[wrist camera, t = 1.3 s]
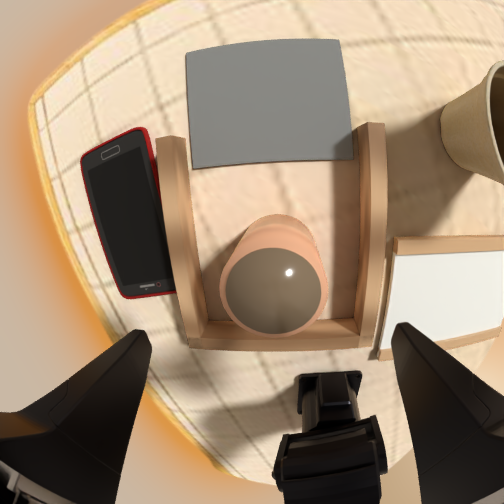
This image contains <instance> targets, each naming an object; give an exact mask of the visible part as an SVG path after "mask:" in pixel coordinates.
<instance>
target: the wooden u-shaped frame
mask: <svg viewBox="0 0 504 504" xmlns="http://www.w3.org/2000/svg"><path fill="white" fill-rule="evenodd" d="M357 132H358V146H359V165H360V245H359V264H358V278H357V290H356V300H355V310H354V318H345V319H326V320H316V321H315V322H314V323H313V324H312V325H310V326H309V327H308V328H306V329H305V330H303V331H301V332H299V333H296V334H294V335H290V336H286V337H277V338H274V337H264V336H259V335H256V334H253V333H251V332H249V331H247V330H245V329H243V328H242V327H240V326H239V325H238V324H236V323H235V322H234V321H215V320H209V319H208V313H207V307H206V301H205V295H204V289H203V283H202V277H201V270H200V263H199V257H198V249H197V242H196V235H195V227H194V219H193V211H192V202H191V193H190V184H189V174H188V163H187V152H186V139H185V138H181V137H176V136H166V137H161V138H156V152H157V163H158V173H159V182H160V191H161V199H162V207H163V214H164V222H165V228H166V235H167V241H168V247H169V253H170V259H171V265H172V270H173V275H174V281H175V286H176V291H177V296H178V300H179V305H180V310H181V314H182V319H183V323H184V327H185V331H186V336H187V340H188V344H189V348H195V349H209V350H228V351H316V350H335V349H349V348H361V347H372V343H373V337H374V332H375V327H376V321H377V315H378V309H379V302H380V295H381V287H382V279H383V269H384V259H385V246H386V230H387V153H386V137H385V125H384V123H372V122H367V123H365V124H363V125H361V126H359V127H357Z"/></svg>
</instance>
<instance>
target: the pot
mask: <svg viewBox="0 0 504 504" xmlns="http://www.w3.org/2000/svg"><path fill="white" fill-rule="evenodd" d="M219 292H220V298H221V302H222V304H223V307H224V309H225V311H226V312H227V314H228V315H229V316H230V318H231V319H232V320H233V321H234V322H235V323H236V324H238V325H239V326H240V327H242V328H243V329H245V330H247V331H249V332H251V333H253V334H256V335H259V336H264V337H274V338H277V337H286V336H290V335H294V334H296V333H299V332H301V331H303V330H305V329H306V328H308V327H309V326H310V325H312V324H313V323H314V322H315V321H316V320H317V318H318V317H319V316H320V315H321V313H322V311H323V309H324V307H325V305H326V302H327V298H328V282H327V277H326V274H325V271H324V268H323V265H322V262H321V258H320V255H319V252H318V249H317V246H316V243H315V240H314V238H313V235H312V234H311V232H310V231H309V229H308V228H307V227H306V226H305V225H304V224H303V223H302V222H301V221H299V220H297V219H295V218H293V217H291V216H287V215H281V214H275V215H269V216H265V217H262V218H260V219H258V220H257V221H255V222H254V223H252V224H251V225H250V226H249V228H248V229H247V230H246V232H245V233H244V235H243V237H242V238H241V240H240V242H239V243H238V245H237V247H236V248H235V250H234V252H233V253H232V255H231V257H230V258H229V260H228V262H227V263H226V265H225V267H224V269H223V271H222V274H221V277H220V283H219Z"/></svg>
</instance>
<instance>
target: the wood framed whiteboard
mask: <svg viewBox="0 0 504 504" xmlns="http://www.w3.org/2000/svg"><path fill="white" fill-rule="evenodd" d="M503 317H504V235H465V236H404V237H394V244H393V256H392V266H391V275H390V283H389V290H388V297H387V303H386V310H385V315H384V321H383V326H382V331H381V336H380V341H379V346H378V350H377V358H378V361H386V360H393V353H392V348H391V338H392V335H393V332H394V329H395V326H396V324H397V323H401V322H408V323H410V324H411V325H412V326H414V327H415V328H416V329H418V330H419V331H420V332H422V333H423V334H424V335H426V336H427V337H428V338H430V339H431V340H432V341H433V342H435V343H436V344H437V345H439V346H440V347H441V348H442V349H444V350H449V349H454V348H458V347H462V346H466V345H470V344H474V343H478V342H481V341H485V340H488V339H492V338H495V337H498V336H499V334H500V331H501V329H502V328H501V327H500V325H501V322H502V320H503Z"/></svg>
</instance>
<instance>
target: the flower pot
mask: <svg viewBox="0 0 504 504" xmlns="http://www.w3.org/2000/svg"><path fill="white" fill-rule="evenodd" d="M440 122H441V138H442V142H443V144H444V147H445V149H446V151H447V153H448V155H449V156H450V157H451V159H452V160H453V161H454V162H455V163H456V164H457V165H458V166H460V167H461V168H463V169H466V170H468V171H472V172H475V173H478V174H480V175H483V176H485V177H488V178H490V179H492V180H495V181H497V182H499V183H501V184H503V185H504V60H503V61H499V62H497V63H495V64H494V65H493V66H492V67H491V68H490V69H489V71H488V74H487V75H486V76H485V77H484V79H483V80H482V82H481V83H480V84H479V85H477V86H475V87H474V88H472V89H471V90H469V91H468V92H466V93H465V94H463V95H461V96H460V97H458V98H456V99H455V100H453V101H451V102H450V103H448V104H447V105H446V106H445V108H444V109H443V112H442V114H441V118H440Z"/></svg>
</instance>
